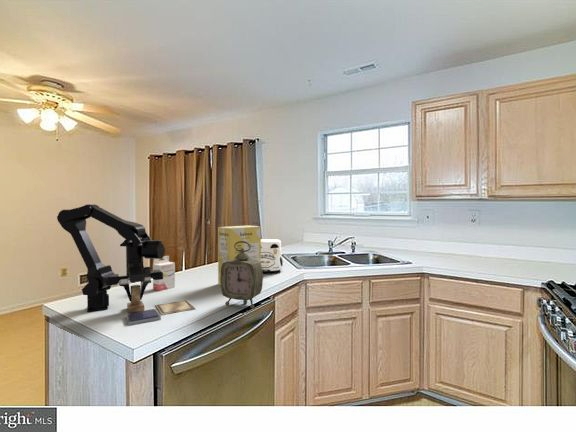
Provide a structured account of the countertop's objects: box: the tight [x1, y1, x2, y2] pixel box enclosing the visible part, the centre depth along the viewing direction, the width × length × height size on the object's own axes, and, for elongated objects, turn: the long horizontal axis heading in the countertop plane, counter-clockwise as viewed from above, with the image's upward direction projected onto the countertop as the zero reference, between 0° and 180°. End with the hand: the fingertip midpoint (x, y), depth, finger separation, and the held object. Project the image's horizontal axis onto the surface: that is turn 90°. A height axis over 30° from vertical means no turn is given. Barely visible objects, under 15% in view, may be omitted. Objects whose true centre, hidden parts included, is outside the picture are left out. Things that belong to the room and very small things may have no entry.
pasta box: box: [217, 225, 262, 286], centre depth 158 cm, size 18×10×28 cm, turn 134°
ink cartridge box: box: [152, 255, 176, 292], centre depth 148 cm, size 9×5×15 cm, turn 145°
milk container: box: [261, 238, 284, 273], centre depth 185 cm, size 17×17×18 cm
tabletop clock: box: [220, 241, 264, 310], centre depth 123 cm, size 14×9×25 cm, turn 71°
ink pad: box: [125, 308, 162, 326], centre depth 109 cm, size 10×9×1 cm
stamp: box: [126, 284, 145, 313], centre depth 118 cm, size 5×7×9 cm
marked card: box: [155, 299, 196, 316], centre depth 120 cm, size 12×12×1 cm
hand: (135, 300), depth 118 cm, fingers closed on stamp, 3 cm apart
